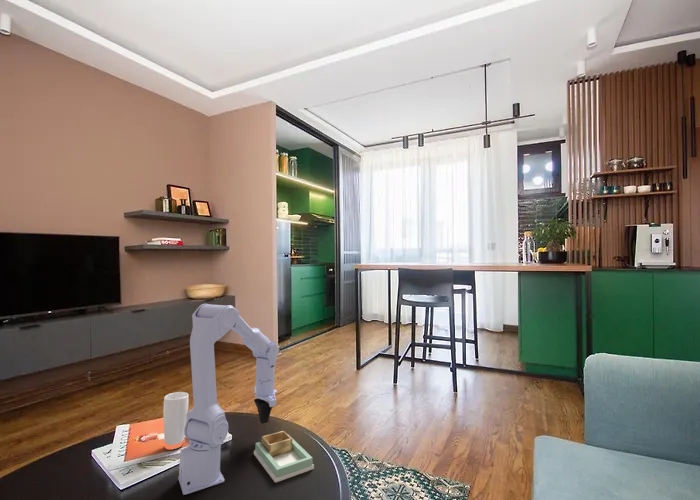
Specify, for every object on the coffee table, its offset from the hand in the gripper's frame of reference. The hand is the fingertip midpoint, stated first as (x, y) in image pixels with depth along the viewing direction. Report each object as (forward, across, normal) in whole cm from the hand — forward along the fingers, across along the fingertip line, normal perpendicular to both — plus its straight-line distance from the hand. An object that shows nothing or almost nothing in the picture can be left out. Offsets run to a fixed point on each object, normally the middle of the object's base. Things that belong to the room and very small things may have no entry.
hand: (264, 422), depth 108 cm
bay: (+5, -15, 0) cm, 16 cm away
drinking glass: (+5, +10, +24) cm, 27 cm away
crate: (+4, -11, 0) cm, 11 cm away
